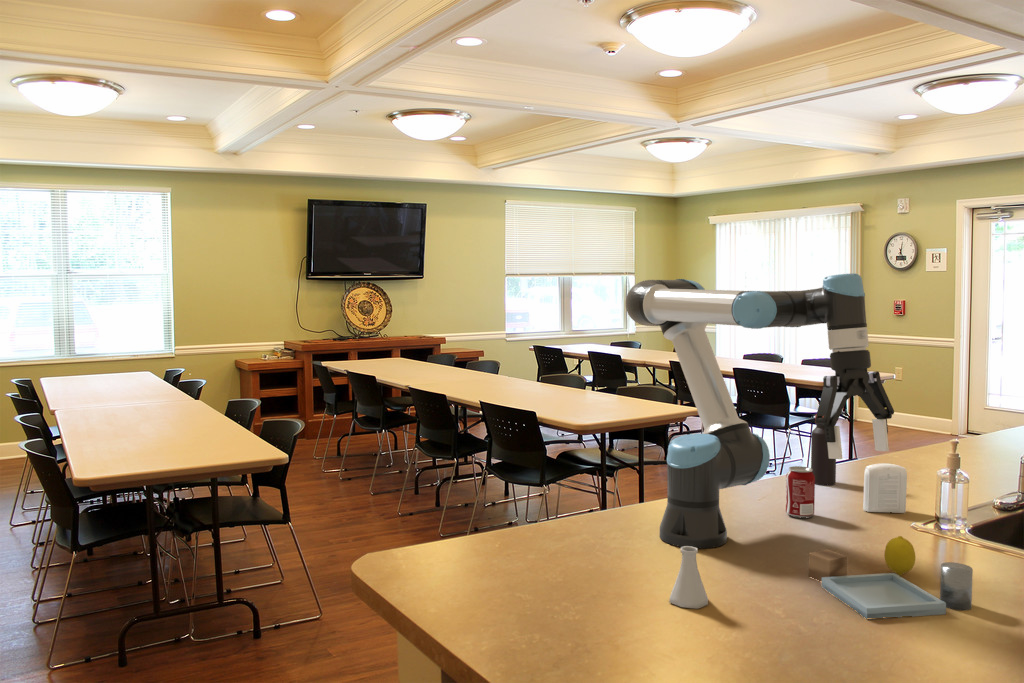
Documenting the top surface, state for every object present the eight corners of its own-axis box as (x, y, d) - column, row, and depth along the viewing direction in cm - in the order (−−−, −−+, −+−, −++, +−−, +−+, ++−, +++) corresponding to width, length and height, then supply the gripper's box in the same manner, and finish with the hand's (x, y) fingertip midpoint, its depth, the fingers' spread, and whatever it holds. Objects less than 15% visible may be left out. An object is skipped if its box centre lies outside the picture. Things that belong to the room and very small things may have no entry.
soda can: (818, 519, 197) (819, 471, 196) (790, 519, 197) (791, 471, 196) (808, 511, 204) (809, 465, 203) (782, 511, 204) (782, 465, 203)
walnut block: (829, 585, 154) (829, 560, 154) (808, 577, 158) (808, 553, 158) (846, 581, 156) (847, 556, 156) (826, 573, 161) (826, 549, 160)
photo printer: (902, 509, 205) (903, 462, 204) (908, 514, 201) (909, 465, 200) (860, 508, 206) (861, 461, 205) (866, 513, 202) (867, 465, 201)
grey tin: (952, 611, 141) (953, 572, 141) (933, 600, 146) (934, 563, 146) (977, 609, 142) (979, 571, 142) (958, 598, 147) (959, 561, 146)
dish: (866, 619, 138) (866, 608, 138) (821, 587, 153) (821, 577, 153) (945, 614, 140) (946, 602, 140) (893, 582, 155) (894, 572, 155)
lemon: (912, 572, 161) (913, 533, 160) (916, 581, 155) (917, 541, 155) (882, 569, 162) (883, 530, 162) (885, 578, 157) (886, 539, 157)
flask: (701, 613, 142) (701, 558, 141) (662, 604, 145) (663, 551, 145) (714, 599, 148) (714, 546, 147) (676, 591, 152) (677, 540, 151)
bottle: (839, 485, 230) (840, 417, 228) (815, 485, 230) (816, 417, 229) (830, 480, 237) (831, 413, 235) (807, 480, 237) (808, 413, 235)
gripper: (820, 352, 153) (830, 463, 152) (906, 345, 164) (916, 448, 163) (790, 354, 159) (800, 460, 159) (875, 347, 171) (884, 446, 170)
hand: (859, 454), depth 161 cm, fingers open, 13 cm apart
